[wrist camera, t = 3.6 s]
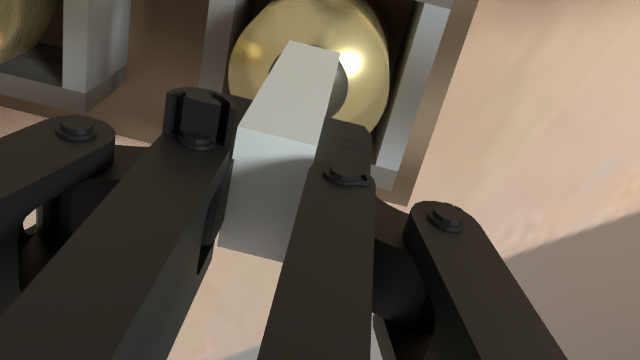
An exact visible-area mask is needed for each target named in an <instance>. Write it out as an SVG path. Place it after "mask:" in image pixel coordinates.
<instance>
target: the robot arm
mask: <svg viewBox="0 0 640 360" xmlns="http://www.w3.org/2000/svg"><path fill="white" fill-rule="evenodd" d="M340 54H341V53H339V52H335V51H331V50H327V49H323V48H319V47H315V46H311V45H307V44H303V43H299V42H295V41H291V40H289V42H288V43H287V45H286V47H285V48H284V50H283V52H282V53H281V55H280V57H279V58H278V60H277V62H276V63H275V65H274V67H273V68H272V70H271V72H270V73H269V75H268V77H267V78H266V80H265V82H264V83H263V85H262V87H261V88H260V90H259V92H258V93H257V95H256V97H255V98H254V100H251V99H247V98H243V97H239V96H235V95H231V94H227V93H219V92H216V91H213V90H210V89H204V88H198V87H181V88H175V89H172V90H170V91H168V92H166V101H165V110H164V120H163V129H162V134H161V135H160V136H159V137H158V138H157V139H156V140H155V142H154V143H153V144H152V145H151V146H150V147H135V146H123V145H115V133H116V131H115V130H114V129H113V128H112V127H111V125H109V124H107V123H105V122H103V121H101V120H98V119H94V118H91V117H90V116H85V115H82V116H80V115H75V114H72V115H69V116H57V117H54V118H50V119H46V120H43V121H41V122H39V123H36V124H34V125H31V126H29V127H26V128H24V129H21V130H19V131H16V132H14V133H11V134H9V135H6V136H4V137H1V138H0V360H166V359H167V357H168V355H169V353H170V351H171V348H172V346H173V344H174V342H175V339H176V337H177V335H178V333H179V331H180V328H181V326H182V324H183V322H184V320H185V317H186V315H187V313H188V311H189V309H190V306H191V304H192V302H193V300H194V297H195V295H196V293H197V291H198V289H199V286H200V284H201V282H202V280H203V278H204V275H205V273H206V271H207V269H208V267H209V264H210V262H211V260H212V254H213V248H214V242H215V238H216V236H217V234H218V232H219V230H220V232H219V238H218V244H217V246H219V247H223V248H227V249H231V250H235V251H239V252H243V253H247V254H251V255H255V256H259V257H263V258H268V259H272V260H276V261H280V262H283V266H282V269H281V273H280V277H279V280H278V284H277V288H276V291H275V295H274V299H273V302H272V306H271V310H270V313H269V317H268V321H267V324H266V328H265V332H264V336H263V339H262V343H261V347H260V350H259V354H258V358H257V360H370V347H371V346H370V345H371V318H372V317H371V316H372V312H373V313H374V316H373V328H374V331H375V335H376V338H377V342H378V345H379V348H380V352H381V355H382V358H383V360H568V359H567V358H566V356H565V355H564V353H563V352H562V350H561V349H560V347H559V346H558V344H557V343H556V341H555V340H554V338H553V336H552V335H551V333H550V332H549V330H548V329H547V327H546V326H545V324H544V323H543V321H542V320H541V318H540V316H539V315H538V313H537V312H536V310H535V309H534V307H533V306H532V304H531V303H530V301H529V300H528V298H527V297H526V295H525V293H524V292H523V290H522V289H521V287H520V286H519V284H518V283H517V281H516V280H515V278H514V277H513V275H512V273H511V272H510V270H509V269H508V267H507V266H506V264H505V263H504V261H503V260H502V258H501V257H500V255H499V254H498V252H497V250H496V249H495V247H494V246H493V244H492V243H491V241H490V240H489V238H488V237H487V235H486V234H485V232H484V231H483V229H482V227H481V226H480V224H479V223H478V222H477V221H476V220H475V219H474V218H473V217H472V216H470V215H469V214H467V213H466V212H464V211H463V210H462V209H461V208H459V207H457V206H453V205H452V204H449V203H441V202H437V201H422V202H419V203H416V204H414V206H413V207H412V208H411V210H410V213H409V214H407V213H404V212H402V211H400V210H398V209H396V208H394V207H392V206H390V205H388V204H386V203H385V202H383V201H382V200H380V199H379V198H378V197H377V196H376V184H375V181H374V178H372V177H371V176H370V174H371V153H372V148H371V147H372V135H371V134H370V133H369V131H368V130H367V129H366V127H365V126H362V125H358V124H354V123H350V122H346V121H342V120H338V119H334V118H330V117H326V116H325V115H326V111H327V107H328V103H329V99H330V95H331V91H332V87H333V83H334V79H335V75H336V71H337V67H338V62H339V58H340ZM34 209H36V224H35V225H33V226H32V227H30V228H28V229H25V230H24V228H23V221H24V220H25V218H26V216H28V215H29V214H30V213H31V212H32V211H33V210H34Z"/></svg>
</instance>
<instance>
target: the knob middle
mask: <svg viewBox="0 0 640 360" xmlns="http://www.w3.org/2000/svg"><path fill="white" fill-rule="evenodd" d="M55 7H56V0H0V64H2V63H4V62H6V61H8V60H10V59H12V58H14V57H16V56H19V55H21V54H23V53H25V52H27V51H29V50H30V49H32V48H34V47H35V46H36V45H38V44H39V43H40V42H41V41H42V40H43V38H44V37H45V36H46V34H47V33H48V31H49V29H50V27H51V25H52V22H53V19H54V14H55Z"/></svg>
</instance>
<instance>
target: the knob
mask: <svg viewBox="0 0 640 360" xmlns="http://www.w3.org/2000/svg"><path fill="white" fill-rule="evenodd" d="M289 40H291V41H295V42H299V43H303V44H307V45H311V46H315V47H319V48H323V49H327V50H331V51H335V52H339V53H341V54H340V58H339V62H338V67H337V71H336V75H335V79H334V83H333V87H332V91H331V95H330V99H329V103H328V107H327V111H326V115H325V116H326V117H330V118H334V119H338V120H342V121H346V122H350V123H354V124H358V125H362V126H365V127H366V129H367V130H368V131H369V133H370V132H371V131H372V130H373V129H374V127H375V126H376V124H377V123H378V121H379V120H380V118H381V116H382V114H383V112H384V109H385V106H386V103H387V99H388V94H389V38H388V29H387V24H386V21H385V18H384V15H383V13H382V11H381V9H380V7H379V6H378V4H377V3H376V1H375V0H271V1H270V3H269V4H268V5H267V6H266V7H265V8H264V9H263V10H262V11H261V12H260V13H259V14H258V15H257V16H256V17H255V18H254V20H253V21H252V22H251V23H250V24H249V25H248V26H247V27H246V28H245V30H244V31H243V32H242V34H241V35H240V36H239V38H238V40H237V42H236V44H235V46H234V49H233V51H232V54H231V58H230V62H229V70H228V83H229V90H230V94H231V95H235V96H239V97H243V98H247V99H251V100H254V98H255V97H256V95H257V93H258V92H259V90H260V88H261V87H262V85H263V83H264V82H265V80H266V78H267V77H268V75H269V73H270V72H271V70H272V68H273V67H274V65H275V63H276V62H277V60H278V58H279V57H280V55H281V53H282V52H283V50H284V48H285V47H286V45H287V43H288V42H289Z"/></svg>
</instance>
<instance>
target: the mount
mask: <svg viewBox="0 0 640 360" xmlns="http://www.w3.org/2000/svg"><path fill="white" fill-rule="evenodd" d="M270 1H271V0H56V7H55V14H54V19H53V22H52V25H51V27H50V29H49V31H48V33H47V34H46V36H45V37H44V38H43V40H42V41H41V42H40V43H39V44H38V45H36V46H35V47H34V48H32V49H30V50H29V51H27V52H25V53H23V54H21V55H19V56H16V57H14V58H12V59H10V60H8V61H6V62H4V63H2V64H0V106H3V107H7V108H11V109H15V110H19V111H23V112H27V113H31V114H35V115H39V116H43V117H47V118H54V117H57V116H69V115H72V114H75V115H80V116H82V115H85V116H90V117H91V118H94V119H98V120H101V121H103V122H105V123H107V124H109V125H111V127H112V128H113V129H114V130H115V131H116V133H115V134H116V135H120V136H124V137H128V138H132V139H136V140H140V141H144V142H148V143H152V144H153V143H154V142H155V140H156V139H157V138H158V137H159V136H160V135H161V134H162V129H163V120H164V110H165V101H166V92H168V91H170V90H172V89H175V88H181V87H198V88H204V89H210V90H213V91H216V92H219V93H227V94H230V90H229V83H228V70H229V62H230V58H231V54H232V51H233V49H234V46H235V44H236V42H237V40H238V38H239V36H240V35H241V34H242V32H243V31H244V30H245V28H246V27H247V26H248V25H249V24H250V23H251V22H252V21H253V20H254V18H255V17H256V16H257V15H258V14H259V13H260V12H261V11H262V10H263V9H264V8H265V7H266V6H267V5H268V4H269V3H270ZM375 1H376V3H377V4H378V6H379V7H380V9H381V11H382V13H383V15H384V18H385V21H386V24H387V29H388V38H389V94H388V99H387V103H386V106H385V109H384V112H383V114H382V116H381V118H380V120H379V121H378V123H377V124H376V126H375V127H374V129H373V130H372V131H371V132H370V134H371V135H372V147H371V148H372V153H371V174H370V176H371V177H372V178H374V181H375V184H376V196H377V197H378V198H379V199H380V200H382V201H386V202H390V203H394V204H398V205H402V206H406V207H407V205H408V202H409V200H410V197H411V194H412V191H413V188H414V185H415V182H416V179H417V176H418V174H419V171H420V168H421V165H422V162H423V159H424V156H425V153H426V150H427V148H428V145H429V142H430V139H431V136H432V133H433V130H434V127H435V125H436V122H437V119H438V116H439V113H440V110H441V107H442V104H443V101H444V99H445V96H446V93H447V90H448V87H449V84H450V81H451V78H452V76H453V73H454V70H455V67H456V64H457V61H458V58H459V55H460V52H461V50H462V47H463V44H464V41H465V38H466V35H467V32H468V29H469V27H470V24H471V21H472V18H473V15H474V12H475V9H476V6H477V3H478V1H479V0H375Z"/></svg>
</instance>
